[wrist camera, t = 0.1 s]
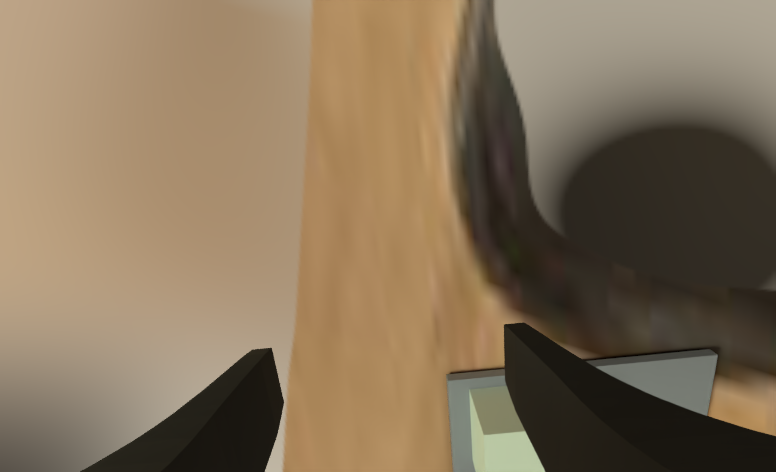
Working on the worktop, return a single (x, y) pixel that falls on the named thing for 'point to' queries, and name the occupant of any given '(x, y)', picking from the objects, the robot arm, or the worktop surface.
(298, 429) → the worktop surface
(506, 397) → the base block
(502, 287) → the worktop surface
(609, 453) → the robot arm
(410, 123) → the worktop surface
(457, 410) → the build plate
